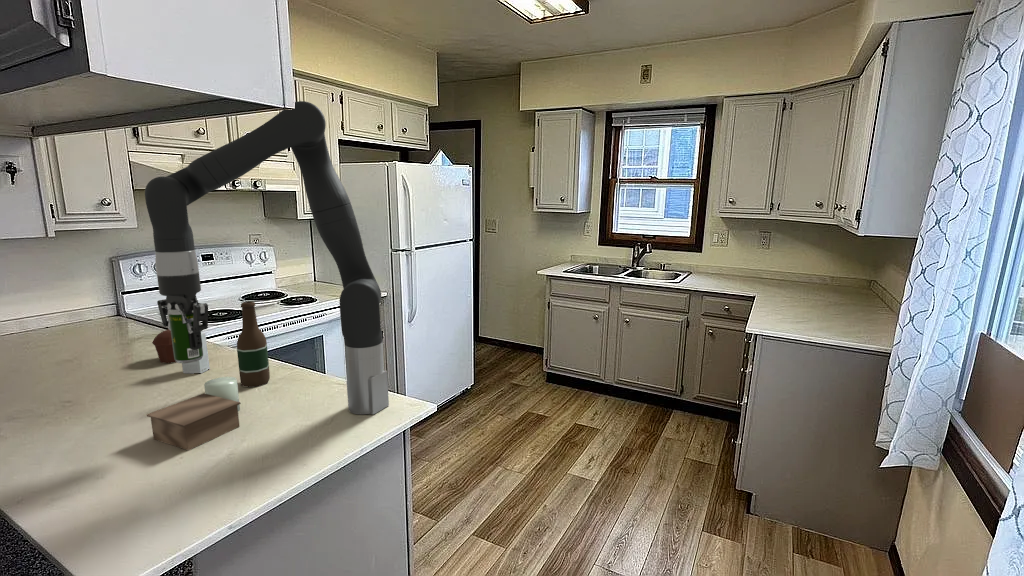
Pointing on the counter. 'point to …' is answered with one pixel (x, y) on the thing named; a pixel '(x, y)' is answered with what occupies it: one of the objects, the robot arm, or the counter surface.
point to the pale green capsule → (223, 388)
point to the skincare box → (201, 364)
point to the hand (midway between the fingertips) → (187, 346)
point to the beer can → (182, 339)
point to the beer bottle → (252, 350)
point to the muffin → (164, 346)
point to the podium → (194, 421)
